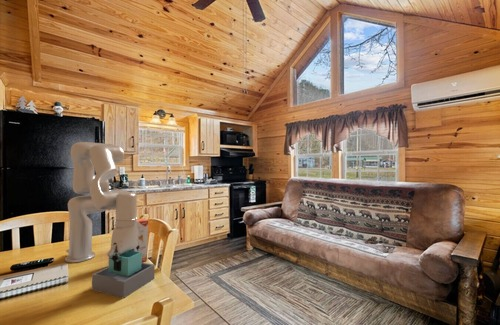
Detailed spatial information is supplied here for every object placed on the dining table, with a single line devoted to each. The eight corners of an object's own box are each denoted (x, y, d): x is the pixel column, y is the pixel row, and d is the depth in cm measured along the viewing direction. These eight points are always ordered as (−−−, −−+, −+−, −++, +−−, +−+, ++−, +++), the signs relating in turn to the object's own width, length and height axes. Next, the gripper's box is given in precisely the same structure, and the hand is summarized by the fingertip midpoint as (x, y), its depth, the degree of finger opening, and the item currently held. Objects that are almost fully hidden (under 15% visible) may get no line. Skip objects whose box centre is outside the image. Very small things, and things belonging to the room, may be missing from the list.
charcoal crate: (91, 289, 94) (92, 274, 94) (125, 272, 109) (125, 259, 109) (123, 298, 89) (124, 281, 89) (154, 278, 104) (154, 264, 104)
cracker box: (116, 268, 113) (117, 223, 113) (113, 264, 117) (114, 221, 117) (147, 261, 121) (148, 219, 122) (144, 257, 126) (145, 217, 126)
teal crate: (108, 272, 97) (108, 254, 97) (122, 265, 104) (123, 248, 104) (127, 276, 94) (128, 258, 94) (141, 269, 100) (141, 252, 100)
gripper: (135, 217, 108) (134, 257, 108) (99, 227, 92) (98, 274, 92) (148, 219, 106) (148, 260, 106) (114, 229, 89) (113, 277, 89)
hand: (125, 266), depth 99 cm, fingers closed on teal crate, 7 cm apart
